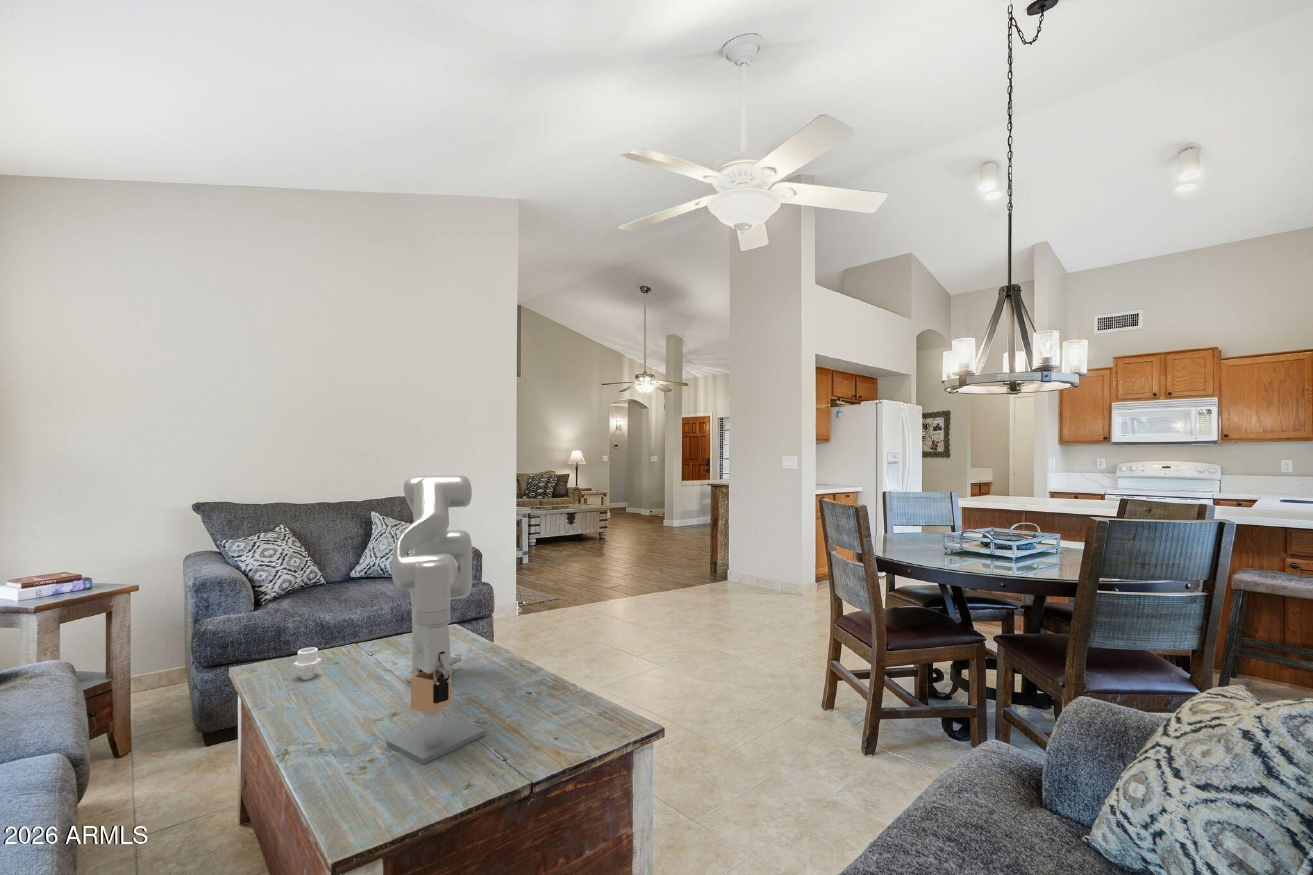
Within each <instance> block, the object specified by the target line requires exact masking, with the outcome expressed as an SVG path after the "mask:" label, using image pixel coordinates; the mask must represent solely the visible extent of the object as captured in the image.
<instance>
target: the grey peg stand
mask: <svg viewBox="0 0 1313 875" xmlns="http://www.w3.org/2000/svg"><path fill="white" fill-rule="evenodd" d="M485 730H486V729H484V728H481V727H478V726H477V725H473V724H471V723H469V722H466V721H464V720H461V719H460V718H457V717H456V716H455V717H454V716H452V715H449V714H446V715H445V716H443V717H442V708H441V709H440V710H438V711H437V712H435V713H429V712H423V724H422V725H421V726H418V727H416V728H413V729H410V730H408V731H405V732H404V733H401V734H399V735H397V736H394V737H391V738H389V739H387V740H386V747H388V748H390V749H392V750H394V751H396V752H398V753H400V754H402V755H404V756H406V757H408V758H410V759H411V760H413V761H415V762H417V763H419V764H421V765H425V764H428V763H429V762H431V761H433V760H435V759H437V758H439V757H442V756H444V755H446V754H448V753H450V752H452V751H454V750H457V749H458V748H461V747H463V746H465V745H467V744H470V743H472V742H474V741H476V740H478V739H480V738H482V737H484V736H485V735H486V731H485Z"/></svg>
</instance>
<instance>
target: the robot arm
mask: <svg viewBox="0 0 1313 875" xmlns="http://www.w3.org/2000/svg"><path fill="white" fill-rule="evenodd" d="M403 492H404V498H405V500H406V502H407V505H408V506H409V509H410V511H411V513H412V516H413V517H412V518H413V520H412V521H413V522H412V523H411V524H410V525H408V526H407V528H405V529H404V531H402V532H401V534H399V537H398V538H397V539H396V542H395V544H394V546H393V550H392V551H393V552H392V566H391V567H392V568H391V575H392V576H391V577H392V578H391V579H392V581H393V584H394V585H395V586H396V587H397V588H398V589H401V590H409V596H410V603H411V618H412V620H411V622H412V623H411V625H412V627H411V628H412V630H411V631H412V632H411V633H412V635H411V636H412V639H411V644H412V647H411V649H412V650H411V651H412V652H411V655H412V656H411V657H412V658H411V659H412V664H411V665H412V667H411V668H412V670H411V671H409V672H408V673H407V675H406V681H407V683H409V684H411V677H413V676H414V675H416V674H418V673H420V672H422V671H424V672H425V673H427V674H431V673H433V677H434V681H435V684H434V685H433V703H435V704H436V703H440V702H443V701H447V700H448V699H449V677H450V671H452V672H453V669H452V666H453V664H458V663H461V661H462V657H461V656H460V655H457V656H454V657H452V656H451V644H450V642H451V640H450V639H451V638H450V631H449V630H450V629H449V624H450V623H451V622H452V621H451V600H458V599H465V598H467V597H469V596H470V594H471V592H472V588H473V587H472V586H473V546H472V538H471V536H470V533H469V532H468V531H467V530H466V531H465V530H461V529H456V530H455V529H453V530H448V529H449V525H450V516H449V515H450V514H449V508H466V507H468V506H469V505H470V503H471V502H472V496H473V488H472V484H471V481H470V479H469V478H468V477H467V476H465V475H421V476H419V475H418V476H412V477H410V478H407V479H406V480H405V481H404V483H403ZM412 549H413V552H414V555H407V554H408V553H409V552H410V551H411V550H412ZM440 672H442V674H440V676H439V678H438V674H437V673H440Z"/></svg>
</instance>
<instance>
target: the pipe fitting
mask: <svg viewBox="0 0 1313 875" xmlns="http://www.w3.org/2000/svg"><path fill="white" fill-rule="evenodd" d="M318 649H319V648H317V647H314V646H313V647H311V646H310V647H305V648H300V649H299V650H298V651H297V659H296V660H297V661H295V662H293V668H296V669H300V671H301V673H300V677H301V680H304V681H306V680H311V679H313V678H314V677H315V667H317V666H318V665H321V663H322V660H323V659H322V658H320V657H318V656H319V655H318V654H319V650H318Z"/></svg>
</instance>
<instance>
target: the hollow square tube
mask: <svg viewBox="0 0 1313 875" xmlns="http://www.w3.org/2000/svg"><path fill="white" fill-rule="evenodd" d="M437 674H438V678H439V676H440V674H442V672H440V673H437ZM452 675H453V670H452V671H450V677H449V699H448V700H447V701H443V702H440V703H436V704H435V703H433V685H434V684H435V681H434V677H433V673H431V674H427V673H425V672H424V671H422V672H420V673H418V674H416V675H414V676H413V677H411V683H410V710H411V711H416V712H417V711H418V712H423V713H424V712H429V713H435V712H437V711H438V710H440V709H441V710H442V709H443V708H444V707H446V706H447V705H449V704H451V703H452V692H453V691H452V683H453V682H452V678H453V677H452Z"/></svg>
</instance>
